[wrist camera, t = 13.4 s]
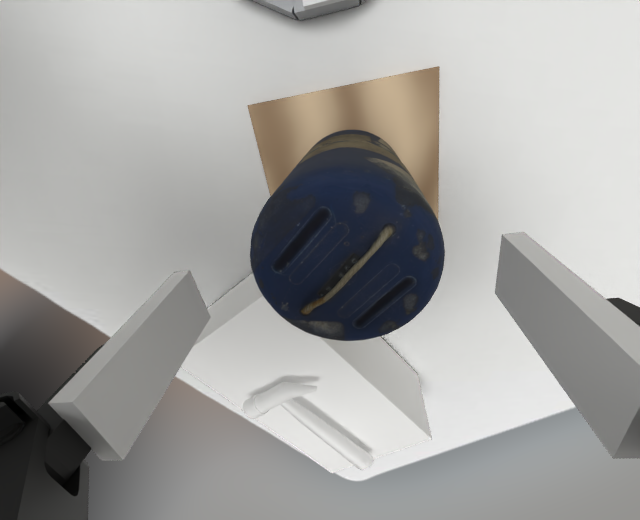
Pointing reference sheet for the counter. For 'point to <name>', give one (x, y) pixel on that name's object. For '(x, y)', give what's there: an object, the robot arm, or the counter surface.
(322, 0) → the collar
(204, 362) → the tissue box
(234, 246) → the counter surface
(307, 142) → the mat
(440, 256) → the canister
